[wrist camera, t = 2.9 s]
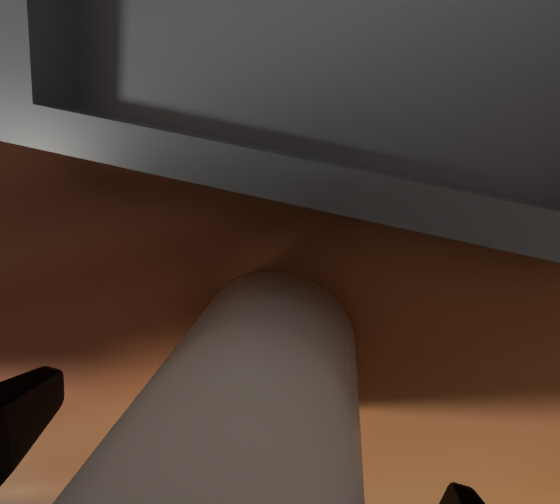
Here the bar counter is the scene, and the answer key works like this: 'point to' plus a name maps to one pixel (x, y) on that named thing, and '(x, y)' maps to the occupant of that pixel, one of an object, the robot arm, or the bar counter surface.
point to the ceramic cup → (242, 408)
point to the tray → (308, 104)
